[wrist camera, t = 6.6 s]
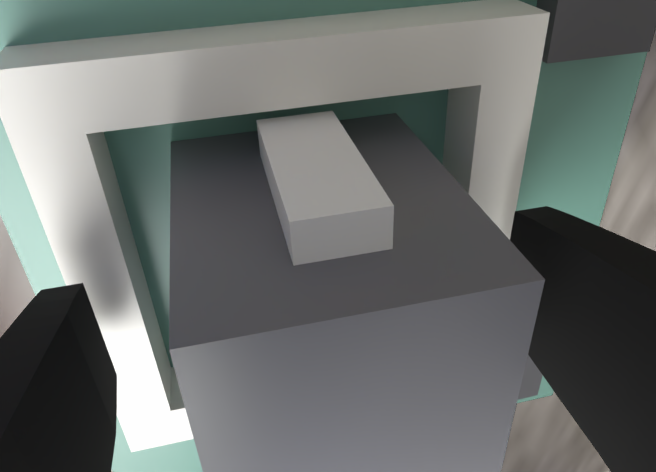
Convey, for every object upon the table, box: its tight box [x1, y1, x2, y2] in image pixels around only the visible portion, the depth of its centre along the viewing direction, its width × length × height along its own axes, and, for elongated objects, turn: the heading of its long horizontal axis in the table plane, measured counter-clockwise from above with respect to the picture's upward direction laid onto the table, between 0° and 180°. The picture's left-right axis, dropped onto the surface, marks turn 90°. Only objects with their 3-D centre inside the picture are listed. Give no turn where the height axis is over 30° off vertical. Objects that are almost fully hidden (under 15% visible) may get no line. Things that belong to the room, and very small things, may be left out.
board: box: [0, 0, 656, 472], centre depth 11 cm, size 13×12×2 cm
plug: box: [169, 111, 545, 472], centre depth 9 cm, size 5×4×5 cm
